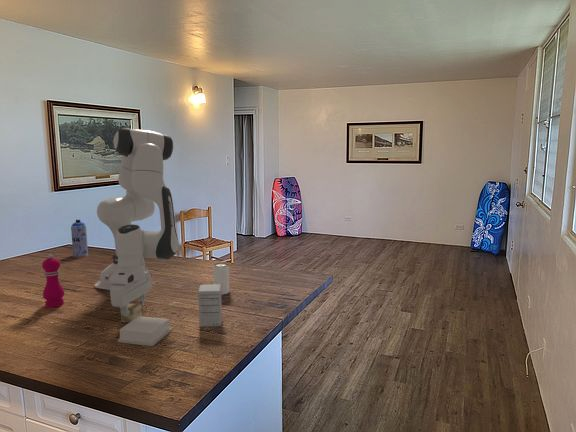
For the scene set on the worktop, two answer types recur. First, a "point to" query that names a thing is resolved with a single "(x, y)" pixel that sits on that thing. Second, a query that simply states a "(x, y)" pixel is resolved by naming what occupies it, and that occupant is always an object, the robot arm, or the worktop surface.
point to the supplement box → (210, 305)
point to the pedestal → (144, 331)
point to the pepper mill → (52, 283)
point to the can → (221, 276)
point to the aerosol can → (79, 239)
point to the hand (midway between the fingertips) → (134, 310)
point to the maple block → (132, 312)
